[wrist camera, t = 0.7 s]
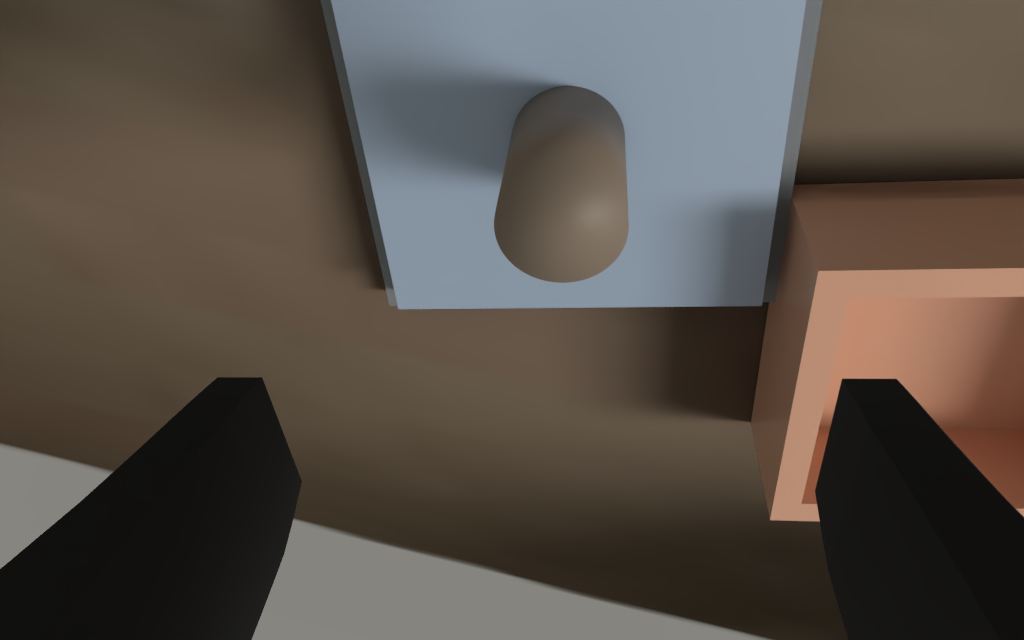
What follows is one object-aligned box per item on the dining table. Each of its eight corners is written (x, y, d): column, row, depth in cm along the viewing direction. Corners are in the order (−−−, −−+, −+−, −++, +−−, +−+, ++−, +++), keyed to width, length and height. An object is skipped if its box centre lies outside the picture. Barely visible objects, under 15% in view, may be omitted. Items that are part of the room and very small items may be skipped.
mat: (771, 288, 20) (775, 302, 20) (394, 292, 21) (389, 305, 21) (839, -162, 14) (847, -157, 14) (303, -120, 15) (294, -114, 15)
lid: (756, 286, 20) (788, 409, 16) (404, 290, 21) (366, 406, 17) (812, -122, 14) (878, -63, 11) (326, -86, 15) (246, -23, 12)
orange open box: (1039, 426, 22) (1099, 527, 20) (750, 423, 23) (770, 520, 21) (1160, 174, 17) (1263, 264, 15) (787, 185, 18) (818, 270, 16)
